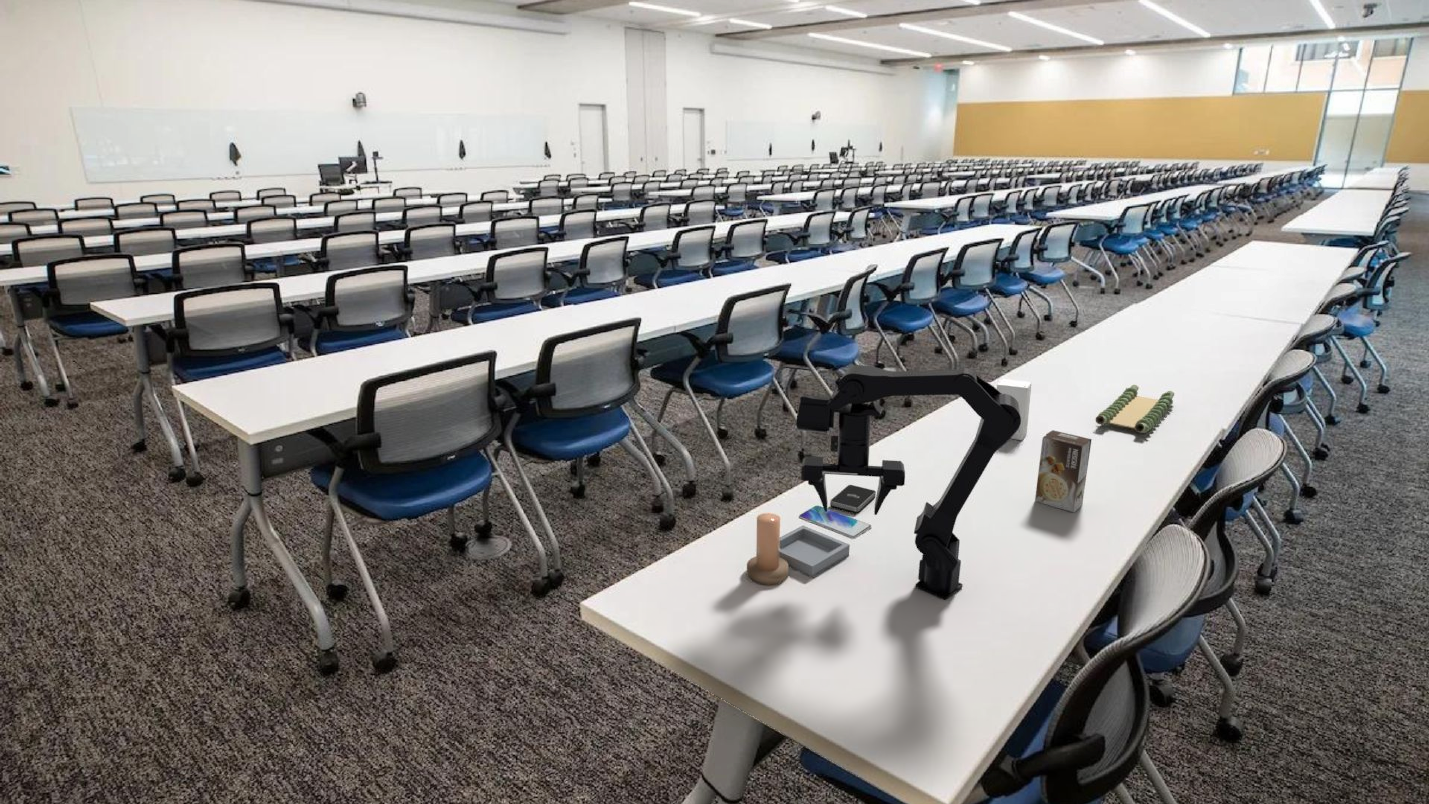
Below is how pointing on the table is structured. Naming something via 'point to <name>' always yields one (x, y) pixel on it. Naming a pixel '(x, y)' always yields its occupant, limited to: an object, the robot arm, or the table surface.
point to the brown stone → (767, 573)
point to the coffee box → (1062, 470)
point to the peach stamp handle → (768, 542)
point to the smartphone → (835, 521)
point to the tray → (811, 551)
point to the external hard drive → (852, 499)
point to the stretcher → (1136, 410)
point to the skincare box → (1022, 395)
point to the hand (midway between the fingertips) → (850, 512)
